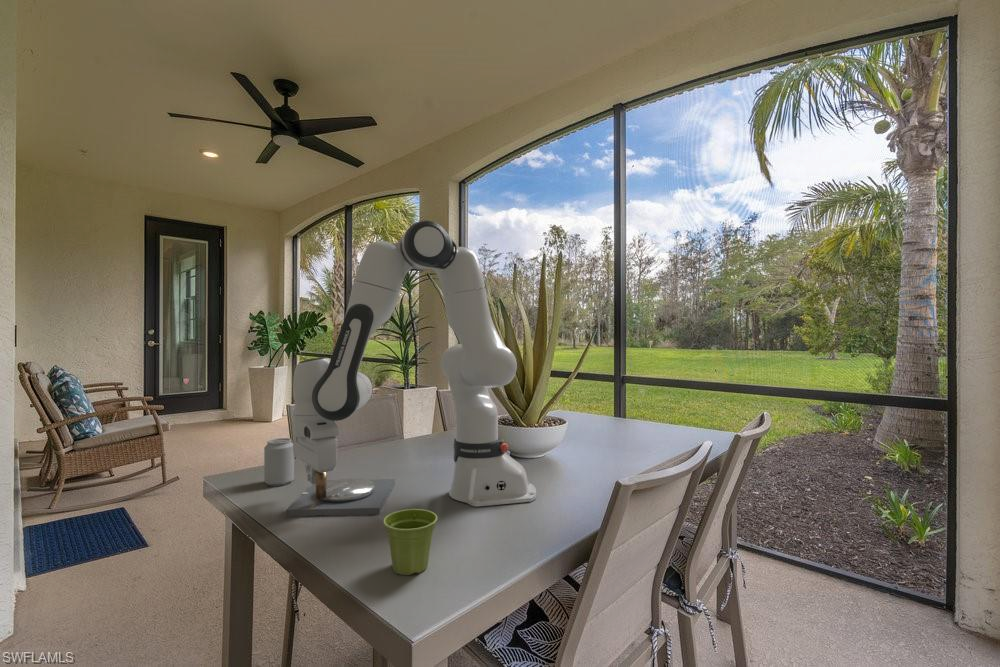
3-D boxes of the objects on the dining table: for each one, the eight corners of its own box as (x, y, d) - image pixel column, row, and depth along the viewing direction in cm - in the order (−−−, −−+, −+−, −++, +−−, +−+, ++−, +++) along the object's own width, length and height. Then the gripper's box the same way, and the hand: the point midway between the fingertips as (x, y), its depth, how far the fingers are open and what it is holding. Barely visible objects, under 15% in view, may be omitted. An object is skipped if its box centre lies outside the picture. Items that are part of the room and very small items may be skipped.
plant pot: (400, 551, 88) (400, 506, 88) (445, 558, 85) (445, 511, 85) (372, 576, 79) (372, 525, 79) (422, 584, 76) (422, 532, 76)
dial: (344, 480, 125) (344, 453, 125) (385, 487, 119) (385, 459, 119) (295, 499, 110) (295, 469, 110) (340, 508, 104) (340, 477, 104)
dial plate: (394, 484, 127) (394, 478, 127) (379, 514, 106) (379, 507, 106) (316, 486, 126) (316, 479, 126) (285, 516, 105) (285, 508, 105)
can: (282, 488, 124) (282, 443, 124) (258, 486, 126) (258, 442, 126) (299, 479, 131) (299, 437, 131) (276, 477, 133) (276, 436, 133)
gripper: (286, 420, 117) (286, 474, 117) (314, 433, 101) (314, 496, 101) (311, 417, 121) (311, 470, 121) (342, 429, 105) (342, 490, 105)
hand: (313, 482), depth 111 cm, fingers closed
